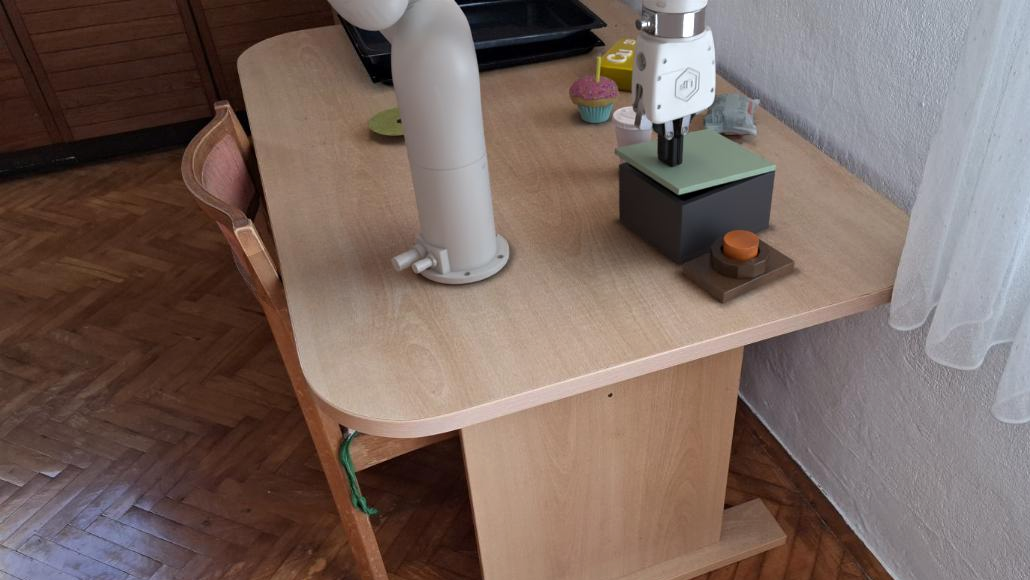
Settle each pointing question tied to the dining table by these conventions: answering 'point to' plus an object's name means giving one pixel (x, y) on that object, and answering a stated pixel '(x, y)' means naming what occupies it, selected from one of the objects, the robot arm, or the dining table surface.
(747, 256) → the button
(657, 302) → the dining table surface
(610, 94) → the cupcake
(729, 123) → the packaged food
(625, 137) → the smoothie
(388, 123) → the mat
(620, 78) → the element tile
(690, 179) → the lid
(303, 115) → the dining table surface
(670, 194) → the dark grey hollow box
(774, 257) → the switch block
